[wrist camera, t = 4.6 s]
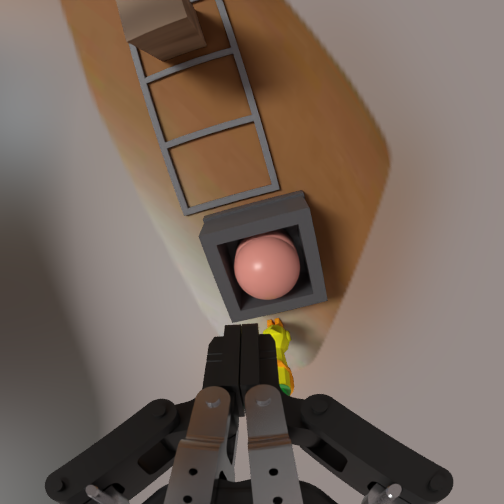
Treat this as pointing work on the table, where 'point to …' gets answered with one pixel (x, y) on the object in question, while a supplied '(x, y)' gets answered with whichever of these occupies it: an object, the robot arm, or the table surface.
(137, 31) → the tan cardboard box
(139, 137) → the table surface
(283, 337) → the toy figure
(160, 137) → the frame
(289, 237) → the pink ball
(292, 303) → the housing
